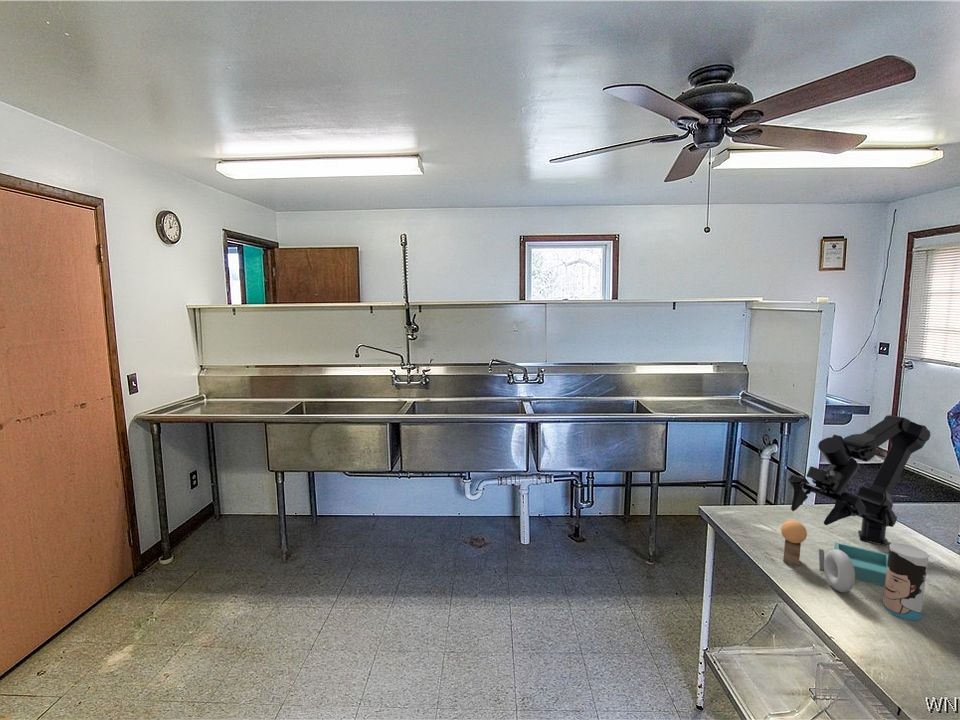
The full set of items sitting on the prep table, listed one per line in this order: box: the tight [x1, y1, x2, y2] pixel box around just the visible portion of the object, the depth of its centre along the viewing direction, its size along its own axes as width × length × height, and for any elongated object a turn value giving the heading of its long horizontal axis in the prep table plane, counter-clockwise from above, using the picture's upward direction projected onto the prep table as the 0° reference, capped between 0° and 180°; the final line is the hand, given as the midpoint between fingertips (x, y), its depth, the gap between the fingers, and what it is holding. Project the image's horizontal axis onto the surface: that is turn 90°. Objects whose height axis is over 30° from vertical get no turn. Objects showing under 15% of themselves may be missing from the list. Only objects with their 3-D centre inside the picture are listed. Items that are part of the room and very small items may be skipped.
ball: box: [780, 519, 808, 544], centre depth 132 cm, size 6×6×6 cm
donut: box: [824, 548, 856, 593], centre depth 119 cm, size 10×4×10 cm, turn 168°
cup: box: [882, 542, 930, 621], centre depth 111 cm, size 7×7×15 cm
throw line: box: [818, 548, 825, 572], centre depth 134 cm, size 13×1×1 cm, turn 145°
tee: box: [782, 538, 802, 567], centre depth 133 cm, size 4×4×6 cm
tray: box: [833, 541, 889, 587], centre depth 129 cm, size 13×12×3 cm
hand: (807, 517), depth 133 cm, fingers open, 9 cm apart
